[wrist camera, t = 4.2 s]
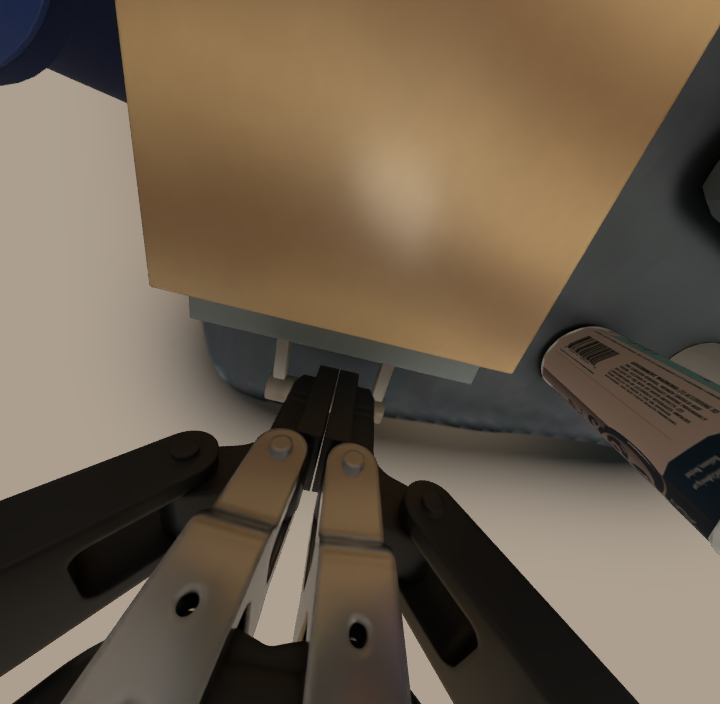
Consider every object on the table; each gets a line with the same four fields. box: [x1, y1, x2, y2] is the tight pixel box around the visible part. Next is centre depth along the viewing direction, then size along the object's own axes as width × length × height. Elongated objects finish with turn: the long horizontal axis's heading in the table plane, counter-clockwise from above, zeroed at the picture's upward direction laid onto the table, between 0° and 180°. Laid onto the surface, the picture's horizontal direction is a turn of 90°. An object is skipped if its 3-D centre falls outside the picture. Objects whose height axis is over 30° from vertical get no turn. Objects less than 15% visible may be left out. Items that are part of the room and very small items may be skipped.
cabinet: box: [115, 0, 720, 374], centre depth 9 cm, size 15×12×9 cm
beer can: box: [541, 327, 720, 555], centre depth 13 cm, size 5×5×12 cm
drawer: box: [189, 296, 480, 424], centre depth 11 cm, size 18×10×7 cm, turn 166°
